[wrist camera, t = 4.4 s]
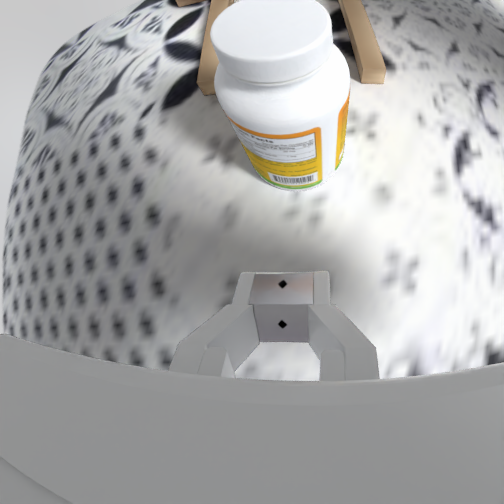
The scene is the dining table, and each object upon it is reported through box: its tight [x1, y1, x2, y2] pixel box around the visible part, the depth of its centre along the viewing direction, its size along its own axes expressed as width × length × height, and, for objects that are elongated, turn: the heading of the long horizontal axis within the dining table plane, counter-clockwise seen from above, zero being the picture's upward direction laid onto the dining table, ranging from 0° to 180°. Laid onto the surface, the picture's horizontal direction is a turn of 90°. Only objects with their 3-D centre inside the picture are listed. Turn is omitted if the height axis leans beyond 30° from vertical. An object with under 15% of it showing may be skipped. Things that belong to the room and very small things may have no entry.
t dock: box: [176, 0, 386, 95], centre depth 18 cm, size 20×14×2 cm
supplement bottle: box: [210, 0, 350, 191], centre depth 13 cm, size 5×5×10 cm
